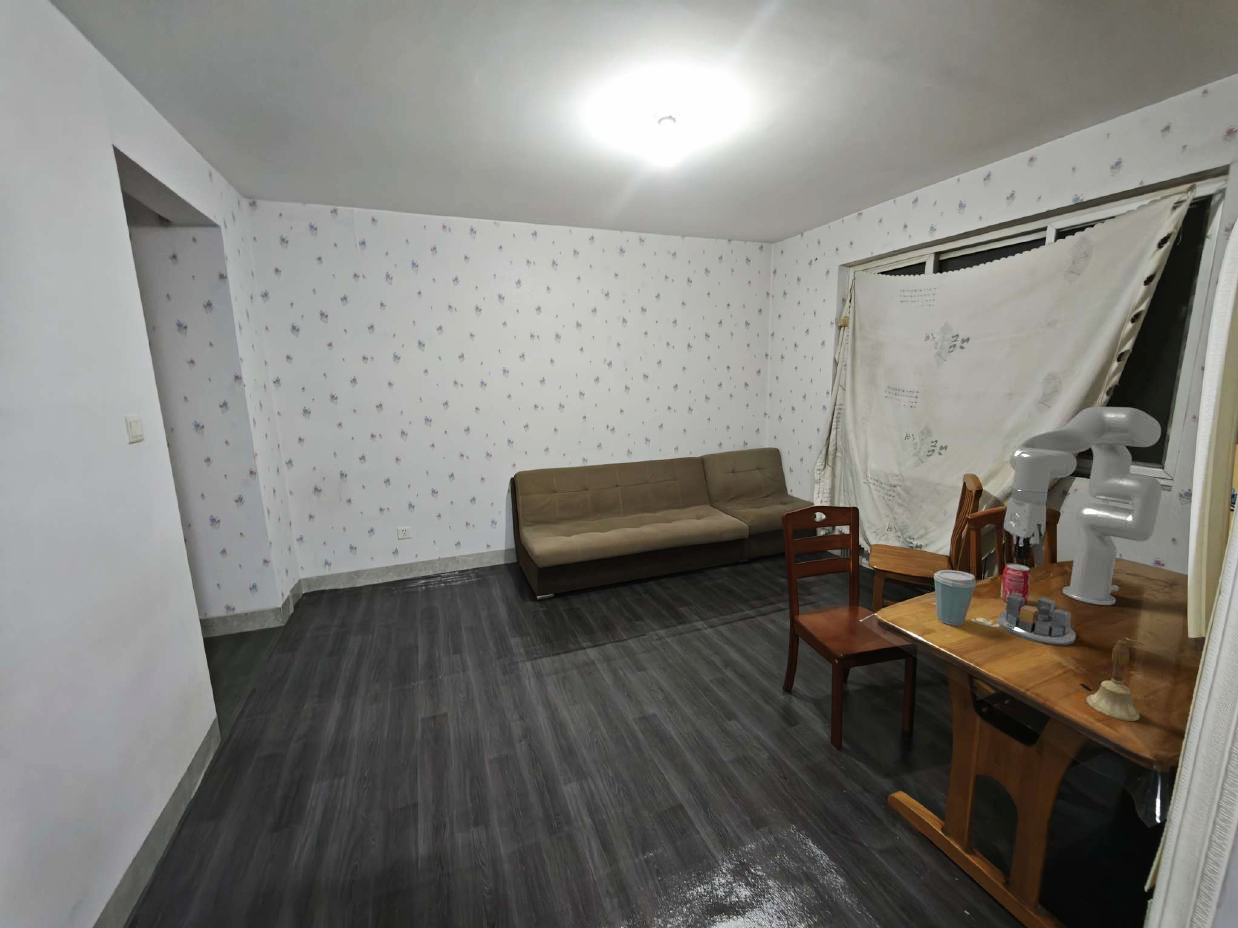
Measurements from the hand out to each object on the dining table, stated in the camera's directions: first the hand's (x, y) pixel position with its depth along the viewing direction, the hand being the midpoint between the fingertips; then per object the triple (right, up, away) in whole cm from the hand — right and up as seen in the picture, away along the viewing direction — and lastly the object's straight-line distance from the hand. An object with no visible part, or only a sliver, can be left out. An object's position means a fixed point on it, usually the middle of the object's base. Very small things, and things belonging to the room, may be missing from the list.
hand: (1020, 558), depth 138 cm
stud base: (+6, -21, +2) cm, 22 cm away
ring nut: (+6, -19, +1) cm, 20 cm away
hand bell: (-7, -27, -32) cm, 42 cm away
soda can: (+14, -18, +20) cm, 30 cm away
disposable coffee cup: (-15, -21, +8) cm, 27 cm away
